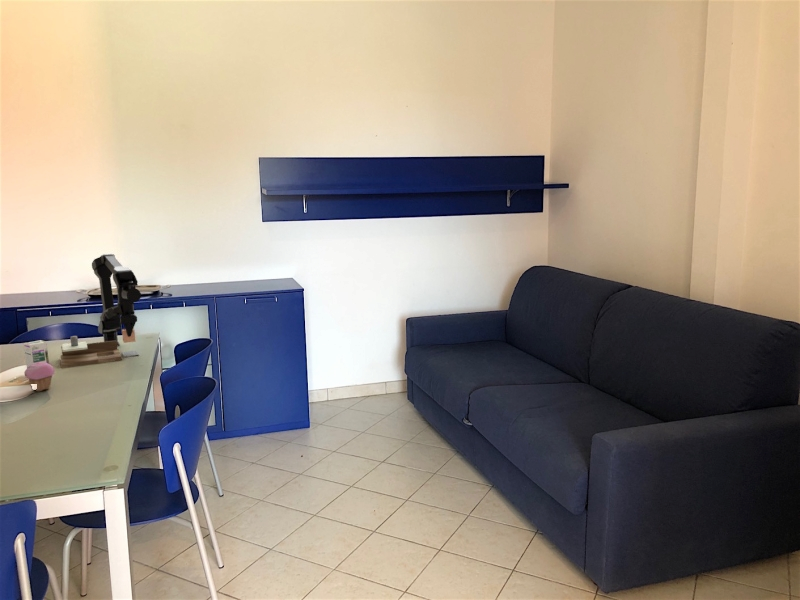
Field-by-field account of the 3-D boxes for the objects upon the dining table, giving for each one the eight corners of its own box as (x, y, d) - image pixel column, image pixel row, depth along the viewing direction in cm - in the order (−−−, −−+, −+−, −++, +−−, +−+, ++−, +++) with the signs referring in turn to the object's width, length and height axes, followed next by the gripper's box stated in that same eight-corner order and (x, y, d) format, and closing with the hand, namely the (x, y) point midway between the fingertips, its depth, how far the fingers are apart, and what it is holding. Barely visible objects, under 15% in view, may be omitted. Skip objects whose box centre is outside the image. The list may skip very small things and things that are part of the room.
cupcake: (47, 384, 216) (44, 357, 214) (61, 388, 212) (58, 361, 210) (21, 391, 209) (18, 363, 207) (35, 395, 204) (32, 367, 203)
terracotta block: (122, 340, 257) (122, 329, 257) (134, 339, 260) (133, 328, 259) (123, 342, 253) (122, 331, 253) (135, 341, 256) (134, 330, 255)
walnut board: (61, 358, 252) (60, 346, 251) (118, 351, 262) (117, 339, 262) (61, 367, 238) (59, 354, 237) (121, 360, 249) (120, 347, 248)
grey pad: (122, 353, 259) (121, 352, 259) (137, 351, 262) (136, 350, 262) (123, 357, 253) (123, 356, 252) (139, 355, 255) (138, 354, 255)
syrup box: (34, 383, 218) (30, 344, 215) (27, 380, 221) (23, 342, 219) (51, 379, 222) (47, 341, 220) (44, 376, 226) (40, 339, 223)
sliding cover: (62, 345, 251) (61, 335, 251) (86, 343, 256) (85, 332, 255) (62, 351, 241) (61, 340, 240) (87, 349, 245) (86, 338, 245)
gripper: (103, 297, 258) (106, 333, 260) (105, 304, 242) (109, 342, 244) (131, 295, 263) (134, 330, 266) (135, 301, 247) (138, 338, 250)
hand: (128, 335), depth 256 cm, fingers closed on terracotta block, 4 cm apart
